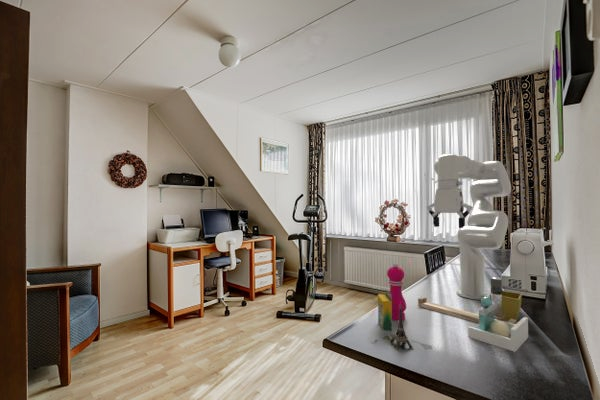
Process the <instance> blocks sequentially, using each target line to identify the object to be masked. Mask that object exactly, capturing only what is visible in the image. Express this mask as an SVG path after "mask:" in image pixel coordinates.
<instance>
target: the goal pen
mask: <svg viewBox="0 0 600 400" xmlns="http://www.w3.org/2000/svg"><path fill="white" fill-rule="evenodd" d="M494 321H501V320H497V319H494ZM502 322H504V323H505V324H507V326H508V327H509V329H510V334H509V335H510V337H504V336H501V335H497V334H494V333H492V332H491V331H490V332H487V331H484V330H480V329H479V328H478V327H477V328H476V327H473V326H468V327H467V332H468V333H467V335H468V336H467V337H468V338H470V339H475V340H477V341H480V342H483V343H486V344H488V345H489V344H490V345H493V346H495V347H498V348H502V349H505V350H508V351H511V352H513V353H516V352H517V351H518V350H519V349H520V348H521V346H522V345H523V344H524V343H525V342H526V341H527V340H528V338H529V318H528V317H525V316H523V317H522V318H520V319H519V321H518V322H516V324H512V323H508V321H506V320H505V321H502Z"/></svg>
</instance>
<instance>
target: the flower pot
mask: <svg viewBox="0 0 600 400" xmlns="http://www.w3.org/2000/svg"><path fill="white" fill-rule="evenodd" d="M488 295H489V298H490V299H491V292H490V293H489V294H488ZM522 297H523V294H522V293H520V292H515V291H514V292H513V291H505V290H502V315H505V321H506V322H508V321H509V320H510V319H514V320H516V321H517V319H518V317H519V314H520V311H521V306H522V299H523V298H522Z"/></svg>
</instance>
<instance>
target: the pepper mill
mask: <svg viewBox="0 0 600 400" xmlns="http://www.w3.org/2000/svg"><path fill="white" fill-rule="evenodd" d="M386 275H387V278H389V279H388V284H389V293H390V294H391V295H392V321H398V322H399V312H400V307H399V305H400V301H401V305H402V320H403V321H404V320H405V319H406V313H405V311H406V309H407V303H406V300H405V297H404V295H403V292H402V286H403V285H404V280H403V279H404V278H405V271H404V270H403V268H401V267H399V264H398V262H393V264H392V266H391V267H389V268H388V269H387V272H386ZM387 295H388V297H390V295H389V294H387Z"/></svg>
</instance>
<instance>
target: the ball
mask: <svg viewBox="0 0 600 400" xmlns="http://www.w3.org/2000/svg"><path fill="white" fill-rule="evenodd" d="M490 329H491V331H490V332H491V333H494V334H497V335H501V336H504V337H507V338H509V337H510V335H511V334H510V329H509V327H508V326H507V324H505V323H504V322H502V321H494V322H493V323H492V324H491V326H490Z"/></svg>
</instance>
